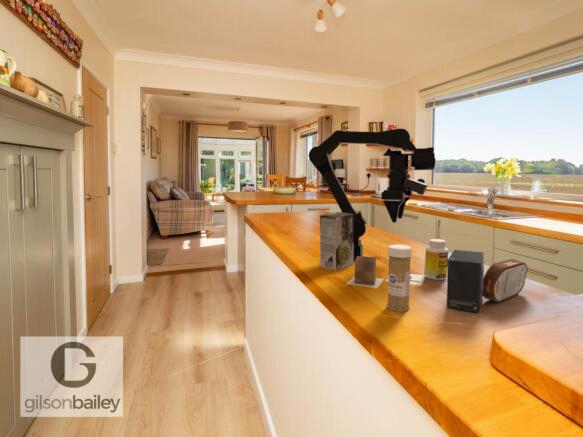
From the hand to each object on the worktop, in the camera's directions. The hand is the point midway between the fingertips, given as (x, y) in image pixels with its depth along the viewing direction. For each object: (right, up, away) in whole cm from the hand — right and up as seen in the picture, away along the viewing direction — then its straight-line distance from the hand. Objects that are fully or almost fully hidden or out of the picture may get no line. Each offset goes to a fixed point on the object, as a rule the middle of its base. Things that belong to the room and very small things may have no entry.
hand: (397, 220), depth 108 cm
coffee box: (-20, -14, -3) cm, 24 cm away
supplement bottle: (+5, -16, -16) cm, 23 cm away
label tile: (-3, -16, -17) cm, 23 cm away
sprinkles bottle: (-11, -19, -36) cm, 42 cm away
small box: (+4, -18, -34) cm, 38 cm away
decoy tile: (-14, -16, -19) cm, 28 cm away
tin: (+14, -17, -32) cm, 39 cm away
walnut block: (-14, -16, -19) cm, 28 cm away
